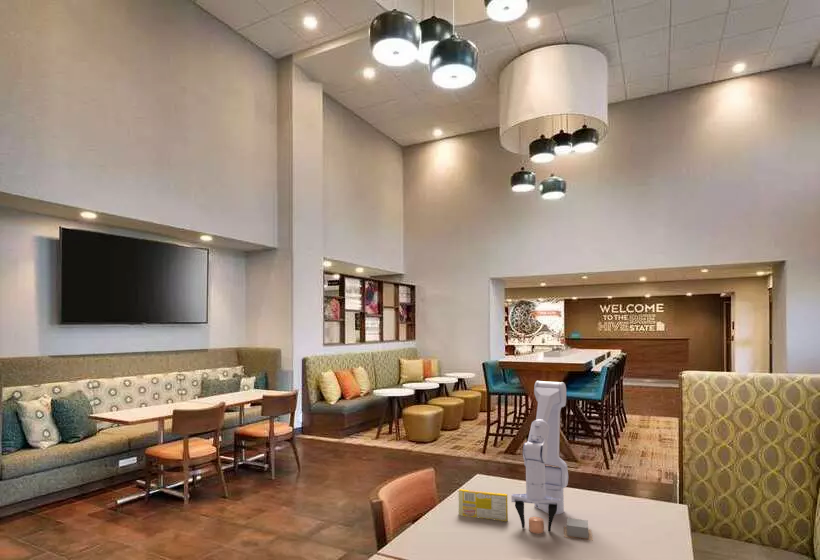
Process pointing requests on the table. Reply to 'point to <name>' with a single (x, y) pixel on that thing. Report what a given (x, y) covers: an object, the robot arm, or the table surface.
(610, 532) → the table surface
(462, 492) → the candy box
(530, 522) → the clay cylinder
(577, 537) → the tower base
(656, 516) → the table surface
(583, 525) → the tower block
